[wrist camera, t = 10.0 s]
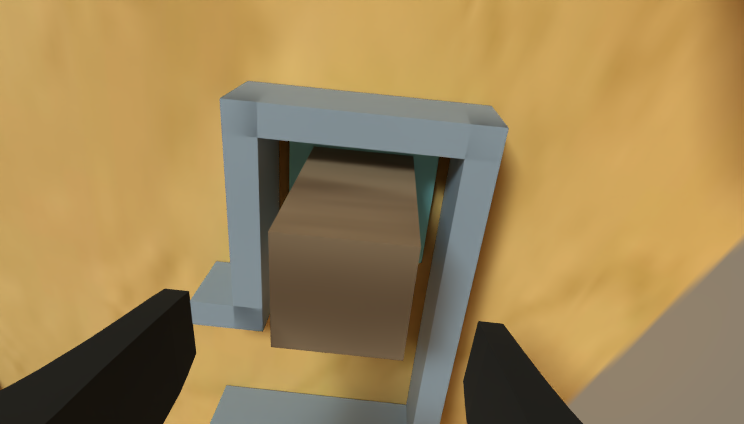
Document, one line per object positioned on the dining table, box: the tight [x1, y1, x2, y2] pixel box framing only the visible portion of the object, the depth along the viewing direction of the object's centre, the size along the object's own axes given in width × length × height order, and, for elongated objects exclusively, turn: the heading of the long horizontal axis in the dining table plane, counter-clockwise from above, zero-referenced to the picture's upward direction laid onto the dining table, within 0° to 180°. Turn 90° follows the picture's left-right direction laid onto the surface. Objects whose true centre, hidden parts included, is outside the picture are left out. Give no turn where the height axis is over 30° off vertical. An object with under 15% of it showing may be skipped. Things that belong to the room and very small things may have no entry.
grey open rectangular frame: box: [190, 81, 509, 424], centre depth 20 cm, size 18×11×3 cm, turn 175°
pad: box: [289, 141, 439, 263], centre depth 19 cm, size 6×6×1 cm
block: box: [268, 146, 421, 361], centre depth 16 cm, size 4×4×7 cm
